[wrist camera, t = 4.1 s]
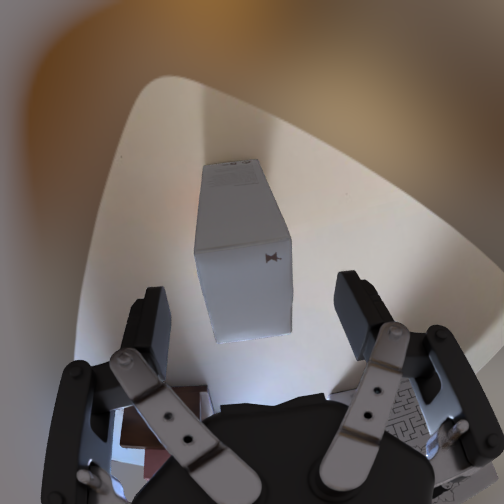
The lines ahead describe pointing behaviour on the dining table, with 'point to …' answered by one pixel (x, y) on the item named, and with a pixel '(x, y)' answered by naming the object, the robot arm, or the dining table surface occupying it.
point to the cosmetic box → (243, 254)
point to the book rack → (141, 435)
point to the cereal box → (417, 434)
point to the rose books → (154, 461)
